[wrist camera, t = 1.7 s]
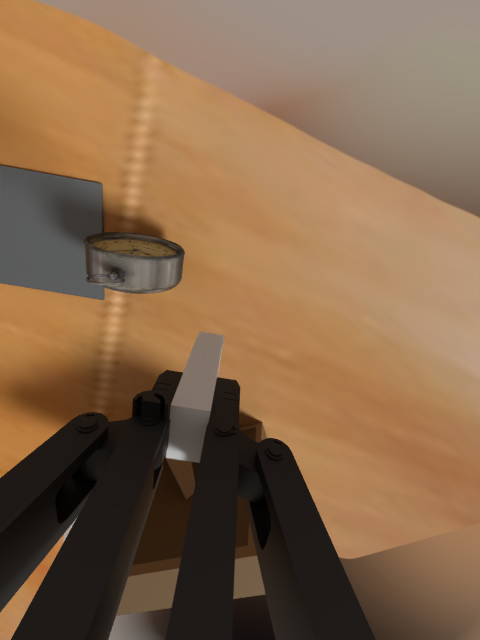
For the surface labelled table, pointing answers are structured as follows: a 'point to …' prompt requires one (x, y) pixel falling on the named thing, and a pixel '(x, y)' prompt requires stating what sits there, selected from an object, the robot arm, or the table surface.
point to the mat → (48, 231)
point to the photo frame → (169, 535)
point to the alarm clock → (133, 262)
